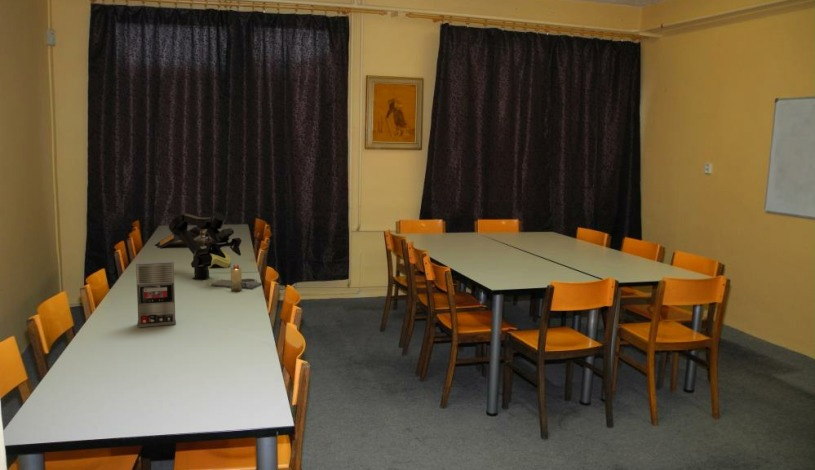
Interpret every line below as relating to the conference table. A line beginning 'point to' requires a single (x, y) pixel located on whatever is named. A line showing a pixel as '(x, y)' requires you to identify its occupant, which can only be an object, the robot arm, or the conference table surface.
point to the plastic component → (220, 260)
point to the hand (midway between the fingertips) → (232, 256)
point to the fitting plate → (246, 283)
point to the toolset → (194, 232)
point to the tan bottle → (236, 279)
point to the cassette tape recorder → (155, 293)
